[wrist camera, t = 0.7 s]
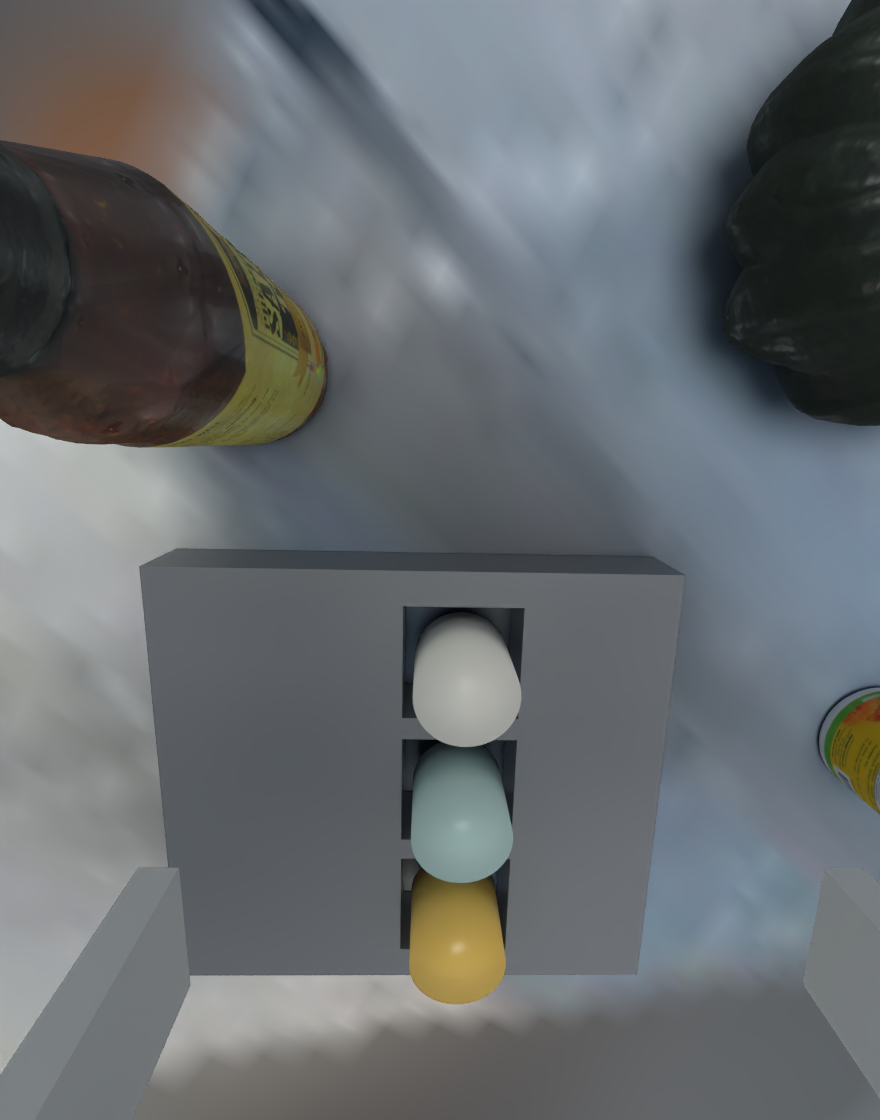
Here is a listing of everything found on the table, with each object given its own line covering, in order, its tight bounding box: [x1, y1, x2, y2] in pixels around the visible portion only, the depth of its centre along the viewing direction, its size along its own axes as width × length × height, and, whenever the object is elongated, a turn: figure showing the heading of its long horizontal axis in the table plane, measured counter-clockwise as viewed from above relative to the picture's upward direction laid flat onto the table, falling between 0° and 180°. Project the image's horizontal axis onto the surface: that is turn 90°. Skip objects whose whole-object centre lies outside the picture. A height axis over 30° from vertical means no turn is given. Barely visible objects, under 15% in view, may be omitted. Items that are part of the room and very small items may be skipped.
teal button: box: [411, 742, 513, 883], centre depth 24 cm, size 4×4×4 cm
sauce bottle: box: [0, 140, 327, 447], centre depth 15 cm, size 6×6×20 cm
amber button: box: [409, 867, 506, 1004], centre depth 26 cm, size 4×4×4 cm
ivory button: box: [413, 612, 521, 747], centre depth 23 cm, size 4×4×4 cm
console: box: [139, 549, 685, 975], centre depth 27 cm, size 22×20×4 cm
